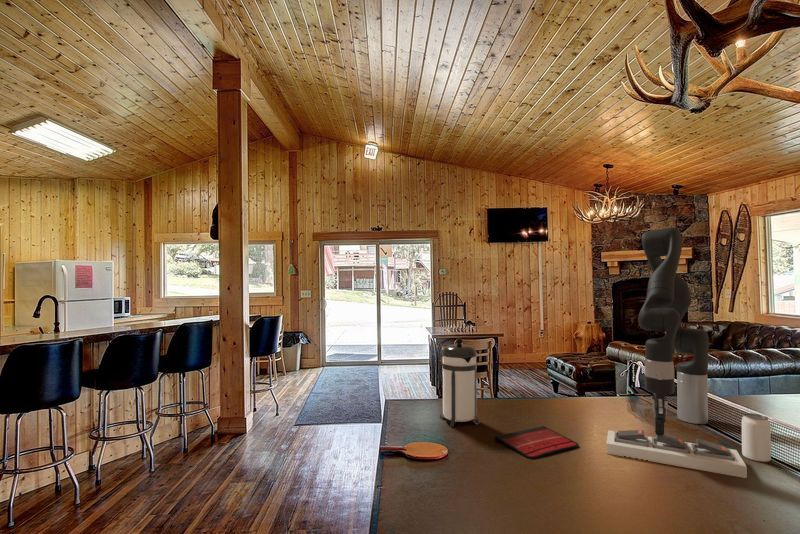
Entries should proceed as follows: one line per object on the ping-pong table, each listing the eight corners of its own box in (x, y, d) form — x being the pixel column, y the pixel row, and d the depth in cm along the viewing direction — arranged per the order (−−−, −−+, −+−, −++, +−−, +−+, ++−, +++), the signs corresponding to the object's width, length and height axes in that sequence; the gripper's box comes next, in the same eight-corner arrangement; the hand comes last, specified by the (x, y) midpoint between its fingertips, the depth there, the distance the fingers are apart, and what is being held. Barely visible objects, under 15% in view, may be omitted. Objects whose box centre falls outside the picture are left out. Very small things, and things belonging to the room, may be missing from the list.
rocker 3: (695, 441, 124) (696, 437, 124) (725, 451, 121) (726, 446, 121) (697, 447, 120) (699, 442, 120) (728, 457, 117) (729, 452, 117)
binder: (494, 435, 137) (542, 424, 147) (494, 442, 137) (542, 431, 147) (531, 456, 123) (582, 443, 133) (530, 464, 123) (581, 450, 133)
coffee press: (487, 418, 159) (487, 336, 159) (470, 431, 145) (470, 342, 146) (445, 410, 168) (445, 333, 169) (425, 421, 155) (425, 338, 155)
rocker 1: (619, 434, 133) (618, 430, 134) (644, 433, 130) (643, 429, 130) (618, 439, 129) (617, 435, 130) (644, 438, 126) (643, 434, 126)
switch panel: (608, 439, 138) (608, 427, 138) (736, 460, 123) (736, 447, 123) (606, 453, 128) (606, 440, 128) (746, 478, 112) (746, 463, 112)
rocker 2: (655, 435, 129) (656, 431, 129) (682, 444, 126) (683, 440, 126) (656, 440, 125) (657, 436, 125) (684, 450, 122) (685, 445, 122)
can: (776, 463, 121) (775, 420, 121) (750, 461, 122) (749, 419, 122) (762, 454, 127) (761, 413, 127) (737, 452, 128) (736, 412, 129)
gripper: (643, 369, 134) (644, 425, 134) (645, 378, 123) (645, 439, 122) (672, 372, 131) (672, 429, 131) (676, 381, 119) (677, 444, 119)
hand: (659, 434), depth 126 cm, fingers closed
